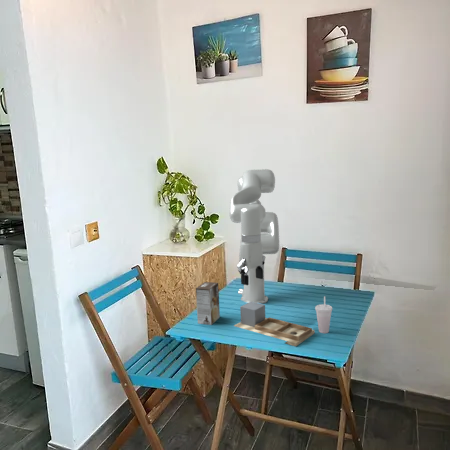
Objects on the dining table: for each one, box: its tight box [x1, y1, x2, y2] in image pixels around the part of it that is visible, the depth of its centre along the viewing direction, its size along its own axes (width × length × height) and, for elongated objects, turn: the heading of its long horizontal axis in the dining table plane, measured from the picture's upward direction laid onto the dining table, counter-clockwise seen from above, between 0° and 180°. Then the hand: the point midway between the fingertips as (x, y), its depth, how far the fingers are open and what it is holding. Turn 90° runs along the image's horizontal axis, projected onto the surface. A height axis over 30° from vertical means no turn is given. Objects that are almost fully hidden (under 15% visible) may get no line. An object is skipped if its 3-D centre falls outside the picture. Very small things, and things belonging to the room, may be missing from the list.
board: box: [233, 317, 316, 347], centre depth 169 cm, size 28×14×5 cm, turn 51°
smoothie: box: [314, 295, 333, 334], centre depth 166 cm, size 6×6×14 cm
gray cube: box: [239, 302, 266, 327], centre depth 175 cm, size 7×7×7 cm
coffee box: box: [195, 281, 221, 326], centre depth 179 cm, size 9×6×16 cm
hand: (252, 281), depth 173 cm, fingers open, 9 cm apart
